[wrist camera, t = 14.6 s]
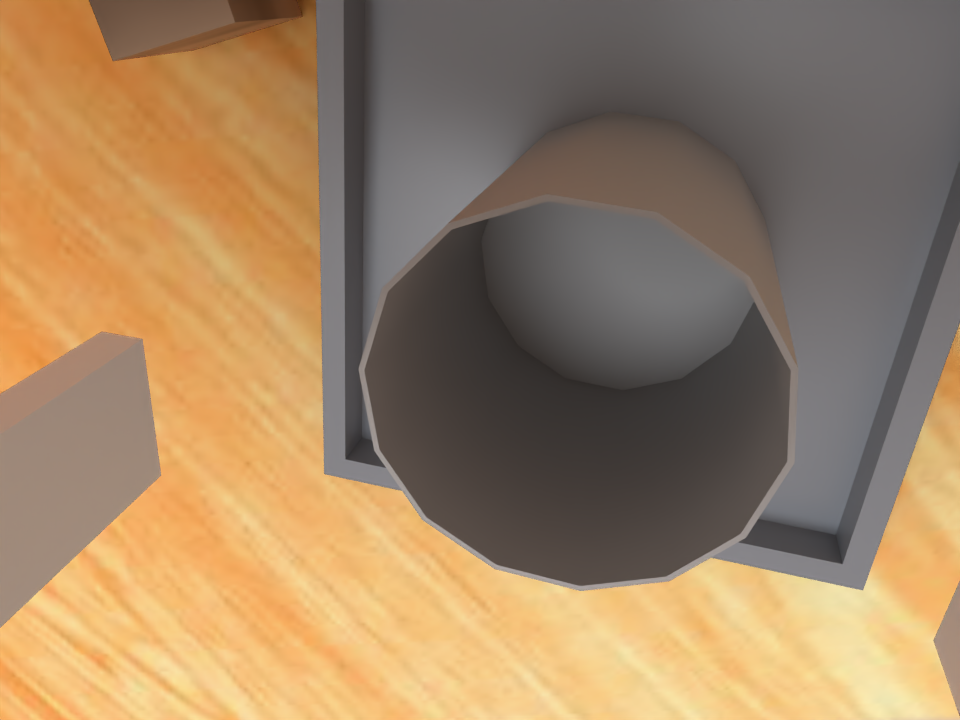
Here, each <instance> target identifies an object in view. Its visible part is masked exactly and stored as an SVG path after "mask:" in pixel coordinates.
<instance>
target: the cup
mask: <svg viewBox="0 0 960 720" xmlns="http://www.w3.org/2000/svg"><path fill="white" fill-rule="evenodd" d="M358 370H359V375H360V380H361V385H362V390H363V395H364V401H365V406H366V411H367V416H368V421H369V426H370V431H371V437H372V442H373V447H374V451H375V452H376V454H377V455H378V457H379V458H380V460H381V461H382V463H383V464H384V465H385V467H386V468H387V470H388V471H389V473H390V474H391V475H392V477H393V478H394V480H395V481H396V483H397V484H398V485H399V487H400V488H401V490H402V491H403V493H404V494H405V496H406V497H407V498H408V500H409V501H410V503H411V504H412V506H413V507H414V508H415V510H416V511H417V513H418V514H419V516H420V517H421V519H422V520H423V521H425V522H426V523H428V524H429V525H431V526H432V527H434V528H435V529H436V530H438V531H439V532H441V533H442V534H444V535H445V536H447V537H448V538H450V539H451V540H453V541H454V542H456V543H457V544H459V545H460V546H462V547H463V548H464V549H466V550H467V551H469V552H470V553H472V554H473V555H475V556H476V557H478V558H479V559H481V560H482V561H484V562H485V563H487V564H488V565H490V566H491V567H492V568H494V569H497V570H501V571H505V572H509V573H512V574H516V575H520V576H524V577H528V578H532V579H536V580H540V581H544V582H548V583H552V584H555V585H559V586H563V587H567V588H571V589H575V590H579V591H584V590H593V589H603V588H612V587H621V586H630V585H639V584H649V583H658V582H667V581H670V580H672V579H674V578H676V577H677V576H679V575H681V574H683V573H685V572H686V571H688V570H690V569H692V568H693V567H695V566H697V565H699V564H700V563H702V562H704V561H706V560H707V559H709V558H711V557H713V556H715V555H716V554H718V553H720V552H722V551H723V550H725V549H727V548H729V547H730V546H732V545H734V544H736V543H738V542H739V541H741V540H743V539H745V538H746V537H747V535H748V534H749V532H750V531H751V529H752V528H753V526H754V525H755V523H756V521H757V520H758V518H759V517H760V515H761V514H762V512H763V511H764V509H765V508H766V506H767V505H768V503H769V502H770V500H771V498H772V497H773V495H774V494H775V492H776V491H777V489H778V488H779V486H780V485H781V483H782V482H783V480H784V478H785V477H786V475H787V474H788V472H789V471H790V469H791V468H792V466H793V465H794V462H795V438H796V414H797V391H798V365H797V360H796V356H795V352H794V347H793V343H792V338H791V334H790V329H789V325H788V320H787V316H786V311H785V307H784V303H783V298H782V294H781V289H780V285H779V280H778V276H777V271H776V267H775V262H774V258H773V253H772V249H771V245H770V240H769V236H768V231H767V227H766V222H765V219H764V217H763V215H762V213H761V211H760V209H759V207H758V205H757V203H756V201H755V199H754V197H753V195H752V193H751V191H750V189H749V187H748V185H747V183H746V182H745V180H744V178H743V176H742V174H741V172H740V170H739V168H738V166H737V164H736V162H735V160H733V159H732V158H730V157H729V156H728V155H726V154H725V153H723V152H722V151H720V150H719V149H718V148H716V147H715V146H713V145H712V144H710V143H709V142H708V141H706V140H705V139H703V138H702V137H700V136H699V135H698V134H696V133H695V132H693V131H692V130H691V129H689V128H688V127H686V126H685V125H683V124H682V123H681V122H679V121H673V120H666V119H659V118H652V117H645V116H638V115H631V114H624V113H617V112H608V113H605V114H602V115H599V116H596V117H593V118H590V119H587V120H584V121H581V122H578V123H575V124H572V125H569V126H566V127H563V128H560V129H556V130H553V131H550V132H548V133H546V134H545V135H544V136H543V137H542V138H541V139H540V140H539V141H538V142H537V143H535V144H534V145H533V146H532V147H531V148H530V149H529V150H528V151H527V152H526V153H525V154H523V155H522V156H521V157H520V158H519V159H518V160H517V161H516V162H515V163H514V164H512V165H511V166H510V167H509V168H508V169H507V170H506V171H505V172H504V173H503V174H501V175H500V176H499V177H498V178H497V179H496V180H495V181H494V182H493V183H492V184H490V185H489V186H488V187H487V188H486V189H485V190H484V191H483V192H482V193H481V194H479V195H478V196H477V197H476V198H475V199H474V200H473V201H472V202H471V203H470V204H469V205H467V206H466V207H465V208H464V209H463V210H462V211H461V212H460V213H459V214H458V215H456V216H455V217H454V218H453V219H452V220H451V221H450V222H449V223H448V224H447V225H446V226H445V227H444V228H443V229H442V230H441V231H440V232H439V233H438V234H436V235H435V236H434V237H433V238H432V239H431V240H430V241H429V242H428V243H427V244H426V245H425V246H424V247H423V248H422V249H421V250H420V251H419V252H418V253H417V254H416V255H415V256H414V257H413V258H412V259H411V260H410V261H409V262H408V263H407V264H406V265H405V266H404V267H403V268H402V269H401V270H400V271H399V272H398V273H397V274H396V275H395V276H394V277H393V278H392V279H391V280H390V281H389V282H388V283H387V284H386V285H385V286H384V287H383V288H382V290H381V294H380V297H379V301H378V304H377V308H376V311H375V314H374V318H373V321H372V325H371V328H370V331H369V335H368V338H367V342H366V345H365V348H364V352H363V355H362V359H361V362H360V365H359V369H358Z"/></svg>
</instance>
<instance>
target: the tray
mask: <svg viewBox="0 0 960 720" xmlns="http://www.w3.org/2000/svg"><path fill="white" fill-rule="evenodd" d="M316 25H317V83H318V141H319V199H320V257H321V314H322V372H323V430H324V474H327V475H331V476H336V477H340V478H345V479H350V480H354V481H359V482H364V483H368V484H373V485H378V486H382V487H387V488H391V489H396V490H401V488H400V487H399V485H398V484H397V483H396V481H395V480H394V478H393V477H392V475H391V474H390V473H389V471H388V470H387V468H386V467H385V465H384V464H383V463H382V461H381V460H380V458H379V457H378V455H377V454H376V452H375V451H374V447H373V442H372V437H371V431H370V426H369V421H368V416H367V411H366V406H365V401H364V395H363V390H362V385H361V380H360V375H359V370H358V369H359V365H360V362H361V359H362V355H363V352H364V348H365V345H366V342H367V338H368V335H369V331H370V328H371V325H372V321H373V318H374V314H375V311H376V308H377V304H378V301H379V297H380V294H381V290H382V288H383V287H384V286H385V285H386V284H387V283H388V282H389V281H390V280H391V279H392V278H393V277H394V276H395V275H396V274H397V273H398V272H399V271H400V270H401V269H402V268H403V267H404V266H405V265H406V264H407V263H408V262H409V261H410V260H411V259H412V258H413V257H414V256H415V255H416V254H417V253H418V252H419V251H420V250H421V249H422V248H423V247H424V246H425V245H426V244H427V243H428V242H429V241H430V240H431V239H432V238H433V237H434V236H435V235H436V234H438V233H439V232H440V231H441V230H442V229H443V228H444V227H445V226H446V225H447V224H448V223H449V222H450V221H451V220H452V219H453V218H454V217H455V216H456V215H458V214H459V213H460V212H461V211H462V210H463V209H464V208H465V207H466V206H467V205H469V204H470V203H471V202H472V201H473V200H474V199H475V198H476V197H477V196H478V195H479V194H481V193H482V192H483V191H484V190H485V189H486V188H487V187H488V186H489V185H490V184H492V183H493V182H494V181H495V180H496V179H497V178H498V177H499V176H500V175H501V174H503V173H504V172H505V171H506V170H507V169H508V168H509V167H510V166H511V165H512V164H514V163H515V162H516V161H517V160H518V159H519V158H520V157H521V156H522V155H523V154H525V153H526V152H527V151H528V150H529V149H530V148H531V147H532V146H533V145H534V144H535V143H537V142H538V141H539V140H540V139H541V138H542V137H543V136H544V135H545V134H546V133H548V132H550V131H553V130H556V129H560V128H563V127H566V126H569V125H572V124H575V123H578V122H581V121H584V120H587V119H590V118H593V117H596V116H599V115H602V114H605V113H608V112H617V113H624V114H631V115H638V116H645V117H652V118H659V119H666V120H673V121H679V122H681V123H682V124H683V125H685V126H686V127H688V128H689V129H691V130H692V131H693V132H695V133H696V134H698V135H699V136H700V137H702V138H703V139H705V140H706V141H708V142H709V143H710V144H712V145H713V146H715V147H716V148H718V149H719V150H720V151H722V152H723V153H725V154H726V155H728V156H729V157H730V158H732V159H733V160H735V162H736V164H737V166H738V168H739V170H740V172H741V174H742V176H743V178H744V180H745V182H746V183H747V185H748V187H749V189H750V191H751V193H752V195H753V197H754V199H755V201H756V203H757V205H758V207H759V209H760V211H761V213H762V215H763V217H764V219H765V222H766V227H767V231H768V236H769V240H770V245H771V249H772V253H773V258H774V262H775V267H776V271H777V276H778V280H779V285H780V289H781V294H782V298H783V303H784V307H785V311H786V316H787V320H788V325H789V329H790V334H791V338H792V343H793V347H794V352H795V356H796V360H797V365H798V391H797V414H796V438H795V462H794V465H793V466H792V468H791V469H790V471H789V472H788V474H787V475H786V477H785V478H784V480H783V482H782V483H781V485H780V486H779V488H778V489H777V491H776V492H775V494H774V495H773V497H772V498H771V500H770V502H769V503H768V505H767V506H766V508H765V509H764V511H763V512H762V514H761V515H760V517H759V518H758V520H757V521H756V523H755V525H754V526H753V528H752V529H751V531H750V532H749V534H748V535H747V537H746V538H745V539H743V540H741V541H739V542H738V543H736V544H734V545H732V546H730V547H729V548H727V549H725V550H723V551H722V552H720V553H718V554H716V555H715V556H713V557H711V558H716V559H720V560H725V561H730V562H734V563H739V564H743V565H748V566H753V567H757V568H762V569H767V570H771V571H776V572H781V573H785V574H790V575H794V576H799V577H804V578H808V579H813V580H818V581H822V582H827V583H831V584H836V585H841V586H845V587H850V588H855V589H859V590H863V588H864V586H865V583H866V580H867V577H868V575H869V572H870V569H871V566H872V564H873V561H874V558H875V555H876V553H877V550H878V547H879V544H880V541H881V539H882V536H883V533H884V530H885V528H886V525H887V522H888V519H889V517H890V514H891V511H892V508H893V506H894V503H895V500H896V497H897V494H898V492H899V489H900V486H901V483H902V481H903V478H904V475H905V472H906V470H907V467H908V464H909V461H910V459H911V456H912V453H913V450H914V448H915V445H916V442H917V439H918V436H919V434H920V431H921V428H922V425H923V423H924V420H925V417H926V414H927V412H928V409H929V406H930V403H931V401H932V398H933V395H934V392H935V389H936V387H937V384H938V381H939V378H940V376H941V373H942V370H943V367H944V365H945V362H946V359H947V356H948V354H949V351H950V348H951V345H952V342H953V340H954V337H955V334H956V331H957V329H958V326H959V323H960V0H316ZM401 491H402V490H401Z"/></svg>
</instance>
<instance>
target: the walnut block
mask: <svg viewBox="0 0 960 720" xmlns="http://www.w3.org/2000/svg"><path fill="white" fill-rule="evenodd" d="M89 2H90V4H91V7H92V9H93V12H94V14H95V17H96V19H97V22H98V25H99V27H100V30H101V32H102V35H103V37H104V40H105V42H106V45H107V47H108V50H109V52H110V55H111V58H112V60H113V61H117V60H125V59H132V58H140V57H147V56H155V55H162V54H170V53H177V52H185V51H192V50H196V49H199V48H202V47H206V46H209V45H212V44H215V43H219V42H222V41H225V40H228V39H232V38H235V37H238V36H241V35H244V34H248V33H251V32H254V31H257V30H261V29H264V28H267V27H270V26H274V25H277V24H280V23H283V22H286V21H290V20H293V19H296V18H299V17H302V14H301V11H300V8H299V4H298V1H297V0H89Z"/></svg>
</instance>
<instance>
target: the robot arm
mask: <svg viewBox="0 0 960 720" xmlns="http://www.w3.org/2000/svg"><path fill="white" fill-rule="evenodd" d="M160 476H161V471H160V463H159V456H158V449H157V441H156V434H155V427H154V420H153V412H152V405H151V398H150V390H149V383H148V376H147V369H146V361H145V354H144V347H143V339H140V338H134V337H129V336H123V335H118V334H112V333H107V332H100V333H99V334H97V335H96V336H94V337H92V338H91V339H89V340H87V341H86V342H84V343H82V344H81V345H79V346H78V347H76V348H74V349H73V350H71V351H69V352H68V353H66V354H65V355H63V356H61V357H60V358H58V359H56V360H55V361H53V362H52V363H50V364H48V365H47V366H45V367H43V368H42V369H40V370H38V371H37V372H35V373H34V374H32V375H30V376H29V377H27V378H25V379H24V380H22V381H21V382H19V383H17V384H16V385H14V386H12V387H11V388H9V389H7V390H6V391H4V392H3V393H1V394H0V627H1V626H3V625H4V624H5V623H6V622H7V621H8V620H9V619H10V618H11V617H12V616H13V615H14V614H15V613H16V612H17V611H18V610H19V609H20V608H22V607H23V606H24V605H25V604H26V603H27V602H28V601H29V600H30V599H31V598H32V597H33V596H34V595H35V594H36V593H37V592H38V591H39V590H41V589H42V588H43V587H44V586H45V585H46V584H47V583H48V582H49V581H50V580H51V579H52V578H53V577H54V576H55V575H56V574H57V573H58V572H60V571H61V570H62V569H63V568H64V567H65V566H66V565H67V564H68V563H69V562H70V561H71V560H72V559H73V558H74V557H75V556H76V555H77V554H79V553H80V552H81V551H82V550H83V549H84V548H85V547H86V546H87V545H88V544H89V543H90V542H91V541H92V540H93V539H94V538H95V537H96V536H98V535H99V534H100V533H101V532H102V531H103V530H104V529H105V528H106V527H107V526H108V525H109V524H110V523H111V522H112V521H113V520H114V519H115V518H117V517H118V516H119V515H120V514H121V513H122V512H123V511H124V510H125V509H126V508H127V507H128V506H129V505H130V504H131V503H132V502H133V501H134V500H136V499H137V498H138V497H139V496H140V495H141V494H142V493H143V492H144V491H145V490H146V489H147V488H148V487H149V486H150V485H151V484H152V483H153V482H155V481H156V480H157V479H158V478H159V477H160ZM934 643H935V646H936V649H937V652H938V655H939V658H940V661H941V664H942V666H943V669H944V672H945V675H946V678H947V681H948V684H949V687H950V690H951V692H952V695H953V698H954V701H955V704H956V707H957V710H958V713H959V716H960V581H959V584H958V586H957V588H956V591H955V593H954V595H953V597H952V600H951V602H950V604H949V606H948V609H947V611H946V613H945V616H944V618H943V620H942V622H941V625H940V627H939V629H938V631H937V634H936V636H935V638H934Z"/></svg>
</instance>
